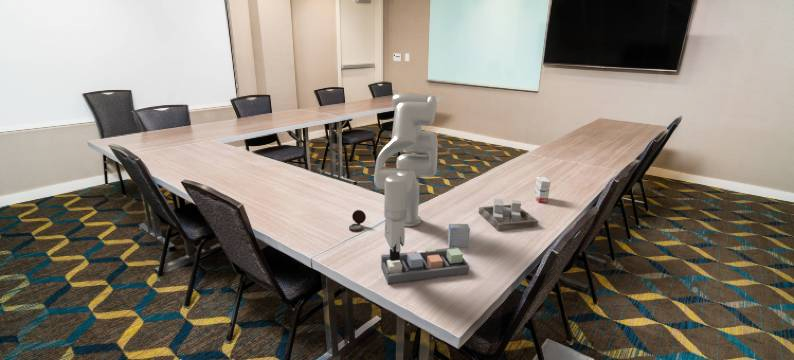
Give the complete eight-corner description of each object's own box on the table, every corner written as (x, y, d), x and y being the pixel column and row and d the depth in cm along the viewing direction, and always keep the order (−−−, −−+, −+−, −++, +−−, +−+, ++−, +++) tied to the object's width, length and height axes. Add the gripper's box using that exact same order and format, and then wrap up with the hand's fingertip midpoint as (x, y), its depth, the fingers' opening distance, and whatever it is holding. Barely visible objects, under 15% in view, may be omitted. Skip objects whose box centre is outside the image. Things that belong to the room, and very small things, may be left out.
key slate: (407, 261, 144) (407, 253, 143) (418, 260, 145) (419, 252, 144) (410, 268, 140) (410, 260, 139) (422, 266, 141) (422, 258, 140)
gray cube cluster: (493, 224, 183) (495, 208, 180) (492, 213, 194) (494, 198, 191) (520, 226, 181) (522, 210, 178) (518, 216, 192) (520, 200, 189)
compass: (346, 231, 173) (346, 215, 170) (353, 223, 180) (353, 208, 178) (364, 233, 171) (364, 218, 169) (370, 225, 178) (370, 210, 176)
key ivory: (386, 268, 143) (386, 260, 142) (398, 266, 144) (398, 259, 143) (389, 274, 139) (389, 266, 138) (401, 273, 140) (402, 265, 139)
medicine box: (466, 242, 165) (468, 223, 162) (468, 247, 161) (470, 228, 158) (447, 242, 165) (448, 223, 162) (448, 247, 161) (450, 228, 158)
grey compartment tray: (381, 267, 146) (381, 254, 144) (456, 258, 153) (457, 246, 151) (387, 284, 136) (388, 270, 134) (468, 274, 143) (469, 261, 141)
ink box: (547, 203, 208) (551, 181, 204) (538, 203, 208) (541, 181, 204) (542, 197, 216) (545, 176, 212) (533, 196, 216) (536, 176, 212)
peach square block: (426, 263, 146) (427, 255, 145) (438, 262, 147) (438, 254, 146) (430, 269, 142) (431, 262, 141) (442, 268, 143) (442, 260, 142)
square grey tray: (478, 213, 194) (479, 207, 193) (515, 209, 198) (515, 204, 197) (497, 231, 176) (498, 224, 175) (537, 227, 181) (538, 220, 180)
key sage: (446, 257, 147) (446, 249, 146) (457, 255, 149) (458, 248, 147) (450, 263, 143) (451, 255, 142) (462, 262, 144) (462, 254, 143)
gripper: (379, 203, 140) (379, 249, 146) (389, 222, 126) (389, 272, 133) (400, 202, 141) (399, 247, 148) (412, 220, 128) (410, 269, 134)
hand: (394, 259), depth 140 cm, fingers closed
